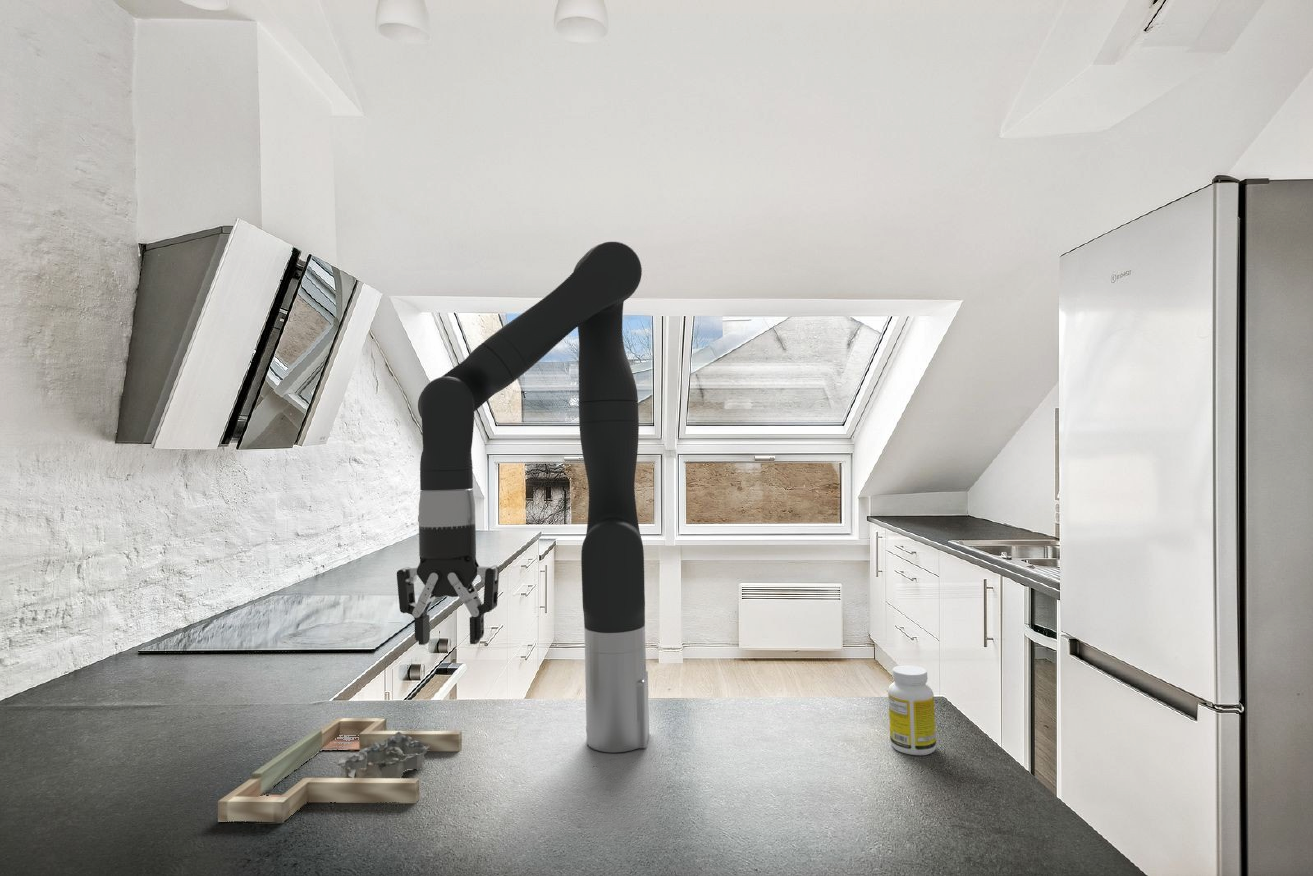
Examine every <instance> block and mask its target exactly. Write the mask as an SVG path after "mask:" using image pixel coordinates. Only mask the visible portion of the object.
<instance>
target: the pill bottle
mask: <svg viewBox="0 0 1313 876" xmlns="http://www.w3.org/2000/svg"><path fill="white" fill-rule="evenodd" d="M892 679H893V680H894V681H893V682H892V683H891V684H890V685H889V686H888V691H887V692H888V693H887V696H888V697H887V698H888V714H889V715H888V717H889V740H890V745H891V746H892V748H893V749H895V751H898V752H900V753H902V754H906V755H911V756H927V755H929V754H932V753H934V752H935V751H936V749H937V737H936V736H937V735H936V733H937V732H936V717H935V713H936V712H935V697H934V691H933V689H932V687H930V686H929V685H928V684H927V683H928V680H929V679H928V671H927V670H926V668H923V667H921V666H916V665H897V666H894V667H893V668H892Z"/></svg>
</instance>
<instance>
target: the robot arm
mask: <svg viewBox="0 0 1313 876" xmlns="http://www.w3.org/2000/svg"><path fill="white" fill-rule="evenodd" d="M642 273H643V268H642V262H641V261H640V257H639V256H638V254H637V252H635V250H634V249H633V248H632V247H630V246H629V245H627V244H626V243H623V242H620V241H616V240H613V241H612V240H609V241H603V242H599V243H598V244H596V245H594V246H592V247H591V248H590V249H589V250H588V251H587V252H586V253H584V255H583V256H582V257H581V258H580V259H579V260H578V261H577V263H576V264H575V267H574V269H573V271H572V273H571V274H570V275H569V276H568V277H567V278H566V279H565V280H564V281H563V282H562V283H560V284H559V285H558V286H557V287H555V288H554V289H553V290H552V291H551V292H550V293H548V294H547V295H546V296H545V297H543V298H542V299H541V300H539V301H538V302H537V303H535V304H534V305H533V306H531V307H529V308H527V310H525V311H523V312H522V313H520V314H519V315H518V316H516V317H515V318H514V319H512V320H511V321H509V322H508V323H506V324H505V325H504V326H503V327H501V328H499V330H497V331H496V332H494V333H493V334H492V335H490V336H489V337H488V338H486V339H485V340H484V341H482V342H481V344H479V345H478V346H476V347H475V348H474V349H473V350H472V351H471V352H470V353H469V354H468V356H466V358H465V359H464V360H463V361H461V362H460V363H458V364H457V365H455V366H454V367H453V368H451V369H450V370H448V371H447V372H446V373H444V374H443V375H442V376H439V377H437V378H435V379H433V380H431V381H430V382H429V383H428V384H426V386H425V387H424V388H423V390H422V391H421V392H420V395H419V398H418V400H417V411H418V414H419V416H420V418H421V433H422V434H421V435H422V452H421V455H420V461H419V463H420V464H419V483H420V484H419V487H420V489H419V491H420V492H419V494H420V495H419V500H418V501H419V502H418V515H417V521H418V522H417V523H418V554H419V555H418V557H419V564H418V566H417V567H410V566H407V567H403V568H400V569H399V570H397V571H396V582H397V584H396V585H397V594H398V604H399V606H398V607H399V611H400V613H402V614H409V615H411V616H413V619H414V622H413V623H414V639H415V641H417V642H418V645H419V646H422V645H423V646H425V645H426V644H428V643H429V642H430V639H431V637H430V636H431V635H430V634H431V630H430V629H431V628H430V627H431V626H430V614H428V611H429V610H430V607H431V606H432V604H433V603H434V601H435V600H436V598H442V597H445V596H446V597H451V598H457V597H459V599H460V602H461V603H463V604H464V605H465V607H466V608H467V610H468V612H469V614H470V615H471V616H470V617H469V644H470V645H477V644H479V642H480V641H481V639H482V638H483V637H484V635H485V620H484V619H485V617H484V616H485V614H486V613H490V612H491V611H492V610H494V609H496V607H497V606H498V597H499V579H500V568H499V566H498V565H492V566H480V565H479V563H478V561H477V542H476V541H477V540H476V539H477V538H476V537H477V536H476V535H477V534H476V533H477V531H476V504H475V503H476V502H475V501H476V500H475V497H474V496H475V495H474V489H473V488H474V481H473V478H474V477H473V476H474V474H473V472H474V471H473V469H474V467H473V459H472V457H473V456H472V447H473V439H474V427H475V412H476V411H478V409H479V408H481V406H482V405H484V404H485V403H486V402H487V401H488V400H490V399H491V398H492V397H493V396H494V395H496V394H497V393H499V392H501V391H502V390H504V389H506V388H507V387H508V386H510V385H511V384H513V383H514V382H515V381H516V380H518V379H519V378H521V376H523V375H524V374H525V373H526V372H528V371H529V370H530V369H531V368H532V367H533V366H535V365H536V364H537V363H538V362H539V361H540V360H541V359H542V358H543V359H544V357H545V356H546V355H547V354H548V353H549V352H550V351H552V349H554V347H556V346H557V345H558V344H559V343H560V342H562V341H563V339H565V337H567V336H568V335H569V334H570V333H572V331H574V330H575V329H577V332H578V333H577V335H578V423H579V437H580V444H581V446H580V447H581V451H582V458H583V463H584V470H585V473H586V474H585V475H586V478H587V479H586V480H587V486H588V507H587V508H588V511H587V525H586V533H585V538H584V539H583V543H582V546H581V553H580V555H581V557H580V561H581V563H580V564H581V565H580V566H581V593H582V596H581V597H582V611H583V627H584V633H583V634H584V673H585V675H584V678H585V679H584V680H585V719H586V726H585V730H586V743H587V744H586V745H587V746H589V747H590V748H591V749H593V750H595V751H598V752H602V753H603V752H604V753H625V752H629V751H630V752H631V751H633V750H638V749H646V748H647V745H648V739H649V735H650V710H649V709H650V708H649V707H650V705H649V703H650V702H649V672H648V670H647V662H646V661H647V656H646V655H647V653H646V649H647V647H646V646H647V645H646V595H645V592H646V591H645V552H644V550H645V549H644V545H643V539H642V536H641V531H640V525H639V518H638V512H637V511H638V510H637V502H636V492H635V489H636V487H635V481H636V480H635V479H636V471H637V462H638V452H639V451H638V450H639V435H640V434H639V433H640V432H639V431H640V428H639V427H640V425H639V424H640V423H639V398H638V395H639V394H638V388H637V384H636V379H635V376H634V374H633V370H632V368H631V365H630V362H629V359H628V356H627V353H626V349H625V343H624V337H623V336H624V335H623V316H624V315H623V313H624V302H625V301H626V300H628V299H629V298H631V297H632V296H633V294H634V293H635V292H636V290H637V289H638V287H639V285H640V283H641V280H642V279H641V278H642V275H643V274H642ZM478 575H479V577H480V581H481V582H482V583H484V586H483V587H484V589H483V590H484V591H483V602H482V600H481V598H480V597H479V596H480V595H479V592H478V590H477V589H476V587H475V584H474V581H475V579H476V578H477V576H478ZM417 577H418V579H420V581H421V582H422V584H423V585H424V587H423V589H422V591H421V592H420V594H419V596H418V598H417V599H418V601H417V602H416V595H415V584H414V583H416V581H417Z"/></svg>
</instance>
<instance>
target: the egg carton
mask: <svg viewBox="0 0 1313 876" xmlns="http://www.w3.org/2000/svg"><path fill="white" fill-rule="evenodd" d="M427 748H430V746H429V745H427V746H426V747H425V746H424V745H423V744H422V742H421V741H416V740H415V739H413V738H411V737H410V736H408V737H405V735H403V734H402V733H400V732H397V733H396V734H395V735H393V736H392V737H390V738H388V739H387V741H386V740H384V741H381V742H380V744H377V743H373V744H372V745H371V746H370V747H368V748H365V749H362V750H360V751H355V752H351V753H346V754H344V755H342V757H341V758H340V759H339V760H338V762H337V764H336V768H341V773H340V775H341V777H340V778H400V777H402V776H403V777H404V773H403V771H405V770H407V769H419V770H421V769H422V768H421V767H422V766H423V767H424V765H423V764H424V763H425V755H426V754H427V752H428V751H427ZM403 754H404V755H403ZM423 762H424V763H423ZM422 763H423V764H422ZM420 768H421V769H420ZM403 777H402V778H403Z"/></svg>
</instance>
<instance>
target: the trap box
mask: <svg viewBox="0 0 1313 876" xmlns="http://www.w3.org/2000/svg"><path fill="white" fill-rule="evenodd" d="M397 732H400V733H402V734H403V735H405V737H408V736H410V737H411V738H413V739H415V740H416V741H421V742H422V744H423V745H424V746H425V747H426V746H427V745H429V746H430V748H427V750H429V751H428V752H460V751H461V750H462V748H463V739H462V737H463V736H462V735H463V734H462V730H387V717H385V718H384V717H380V718H379V717H374V718H373V717H368V718H367V717H366V718H365V717H364V718H363V717H362V718H361V717H356V718H355V717H352V718H351V717H348V718H347V717H346V718H345V717H340V718H339V717H336V718H335V719H332V720H331V721H330V722H329V723H327V724H326V725H324V726H323V727H322V728H320V729H318V730H315V729H314V730H312V731H311V732H310V733H308V734H307V735H305V736H304V737H302V738H300V740H298V741H297V742H296V743H294V744H292V745H290V747H288V748H287V749H285V750H283V752H281V753H279V754H278V755H276V756H275V757H274V758H272V759H271V760H269V761H268V762H267V763H265V764H263V765H262V766H260V767H259V768H258V769H256V770H254V771H253V772H252V773H251V777H250V778H249V779H248V780H246V781H244V782H243V783H242V784H241V785H238V787H236V788H235V789H234V790H232V791H231V792H229V793H228V794H227V795H225V796H224V797H222V798H220V799H219V800H218V801H217V823H218V822H227V821H228V822H229V821H230V822H231V821H233V822H234V821H245V822H246V821H257V822H258V821H259V822H261V821H262V822H278V823H277V824H284V823H285V822H284V821H285V820H286V819H288V818H289V817H290V816H291V815H293V814H294V813H295V812H296V811H297V810H298V811H299V810H301V809H302V808H303V807H304V806H305V805H306V804H308V803H330V802H332V804H333V803H334V802H336V804H337V803H338V804H339V803H342V804H343V803H345V804H348V803H349V804H350V803H351V804H353V803H354V804H355V803H356V804H357V803H359V804H393V803H392V802H397V803H396V804H416V803H418V801H419V800H420V778H403V777H402V778H341V777H303V778H302V779H301V780H299V781H298V782H297V783H296V784H294V785H293V786H291V787H290V788H289V789H288V790H286V791H285V792H284V793H283V794H268V795H269V796H266V795H267V794H265V795H263V796H260V795H261V794H262V793H263V792H265V791H266V790H268V789H269V788H270V787H272V786H273V785H274V784H275V783H277V782H278V781H280V780H281V779H282V778H284V777H285V776H287V775H288V774H289V773H291V772H292V771H293V770H294V769H296V768H297V767H299V766H300V765H302V764H303V763H304V762H305V761H306V760H308V759H310V758H311V757H312V756H313V755H315V754H316V753H317V752H318V751H320V750H321V749H337V750H338V749H348V750H362V749H365V748H368V747H370V746H371V745H372V744H373V743H377V744H380V742H381V741H384V740H386V741H387V739H388V738H390V737H392V736H393V735H395V734H396V733H397ZM339 735H343V736H341V737H344V735H356V736H349V737H359V740H358V738H356V739H355V738H354V740H350V741H348V740H347V741H346V740H343V739H344V738H343V739H337V737H340V736H339ZM358 735H359V736H358ZM347 737H348V736H347ZM335 738H336V740H335ZM351 739H352V738H351ZM330 742H331V743H330ZM333 742H337V743H335V744H334V743H333ZM338 742H354V743H352V744H351V743H350V744H348V743H347V744H345V745H344V743H342V744H341V743H340V744H339V743H338ZM355 742H356V743H355ZM358 742H359V743H358ZM326 746H327V747H326ZM331 746H332V747H331ZM333 746H335V747H333ZM336 746H337V747H336ZM339 746H342V747H340V748H339ZM343 746H345V747H343ZM346 746H352V747H350V748H349V747H347V748H346ZM353 746H354V747H353ZM310 760H311V759H310ZM308 801H310V802H308ZM307 802H308V803H307ZM377 802H378V803H377ZM380 802H382V803H380ZM383 802H384V803H383ZM385 802H387V803H385ZM389 802H391V803H389ZM398 802H399V803H398ZM304 804H305V805H304ZM303 805H304V806H303ZM302 806H303V807H302ZM301 807H302V808H301ZM300 808H301V809H300ZM298 811H297V812H298ZM297 812H296V813H297ZM296 813H295V814H296ZM295 814H294V815H295ZM294 815H293V816H294ZM291 817H292V816H291ZM291 817H290V818H291ZM290 818H289V819H290ZM289 819H288V820H289ZM279 822H281V823H279Z"/></svg>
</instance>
